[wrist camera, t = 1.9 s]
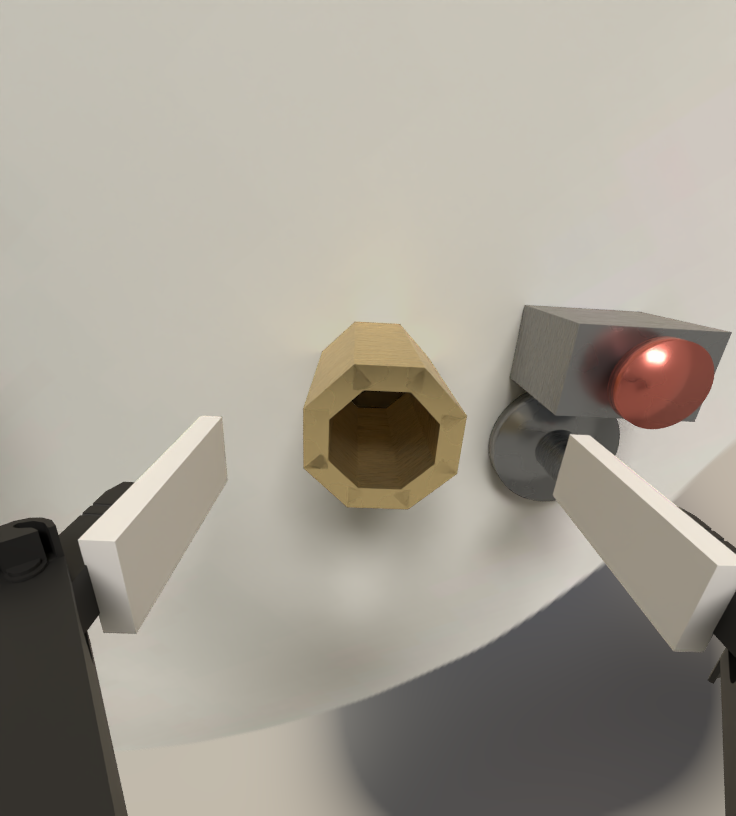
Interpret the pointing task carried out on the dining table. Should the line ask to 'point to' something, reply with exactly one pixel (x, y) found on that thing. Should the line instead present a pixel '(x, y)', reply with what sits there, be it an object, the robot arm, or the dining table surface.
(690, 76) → the dining table surface
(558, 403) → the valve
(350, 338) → the tan octagonal tube
